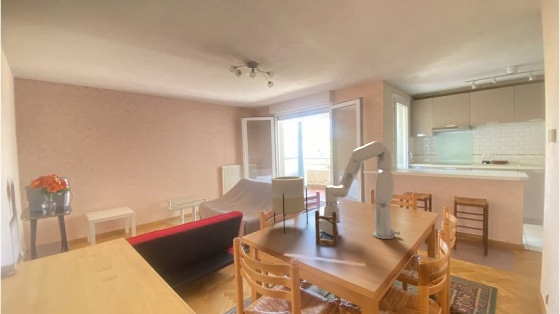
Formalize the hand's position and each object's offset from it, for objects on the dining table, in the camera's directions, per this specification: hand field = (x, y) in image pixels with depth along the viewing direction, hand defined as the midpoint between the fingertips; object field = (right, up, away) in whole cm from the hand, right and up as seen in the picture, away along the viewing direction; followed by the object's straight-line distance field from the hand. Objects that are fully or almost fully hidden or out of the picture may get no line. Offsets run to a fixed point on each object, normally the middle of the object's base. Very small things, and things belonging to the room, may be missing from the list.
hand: (332, 230), depth 156 cm
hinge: (-2, -1, -4) cm, 5 cm away
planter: (-31, -2, +14) cm, 34 cm away
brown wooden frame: (-7, -1, -18) cm, 19 cm away
